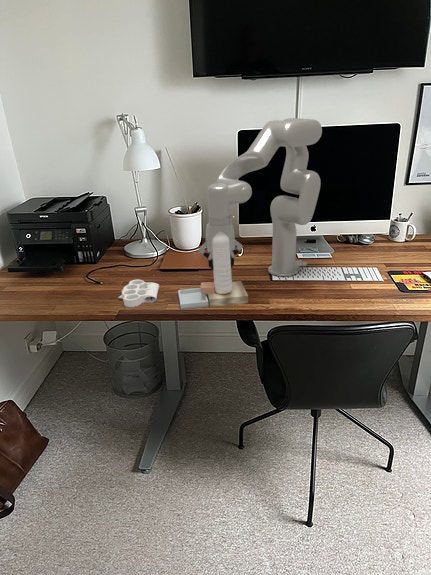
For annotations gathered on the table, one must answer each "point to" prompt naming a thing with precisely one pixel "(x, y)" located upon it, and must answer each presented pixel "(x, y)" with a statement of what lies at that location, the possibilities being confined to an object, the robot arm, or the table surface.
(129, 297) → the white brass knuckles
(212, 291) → the terracotta tile
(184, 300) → the box
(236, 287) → the birch plate
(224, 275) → the water bottle
